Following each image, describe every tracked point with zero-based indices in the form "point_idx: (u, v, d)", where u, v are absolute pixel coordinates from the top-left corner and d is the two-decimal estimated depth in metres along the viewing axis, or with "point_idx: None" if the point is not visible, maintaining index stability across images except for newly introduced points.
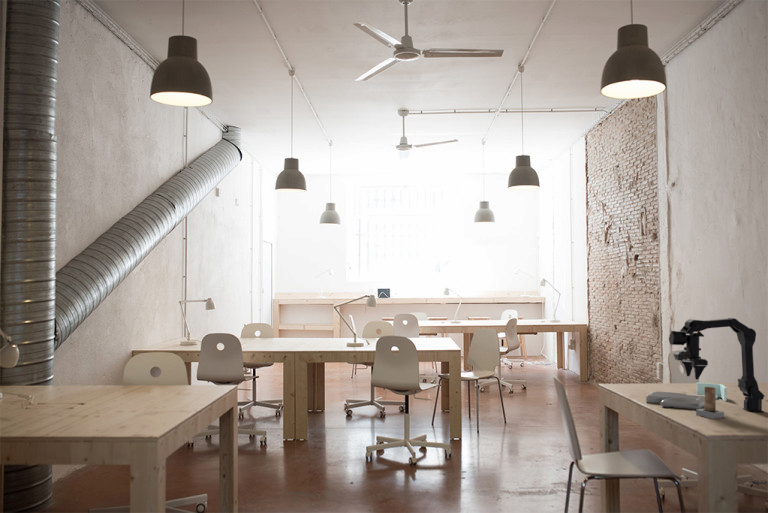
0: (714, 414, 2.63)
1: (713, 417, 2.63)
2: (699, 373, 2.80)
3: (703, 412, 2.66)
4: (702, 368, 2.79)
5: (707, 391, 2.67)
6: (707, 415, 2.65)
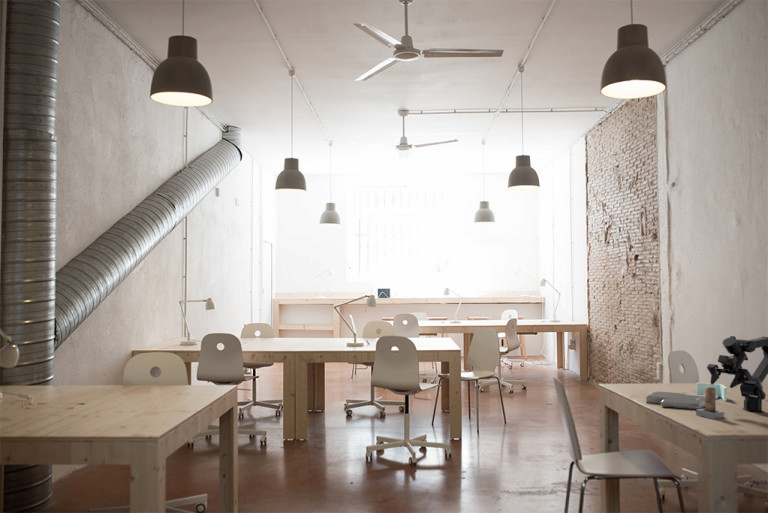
0: (714, 414, 2.63)
1: (713, 417, 2.63)
2: (736, 384, 2.68)
3: (703, 412, 2.66)
4: (741, 381, 2.69)
5: (707, 391, 2.67)
6: (707, 415, 2.65)
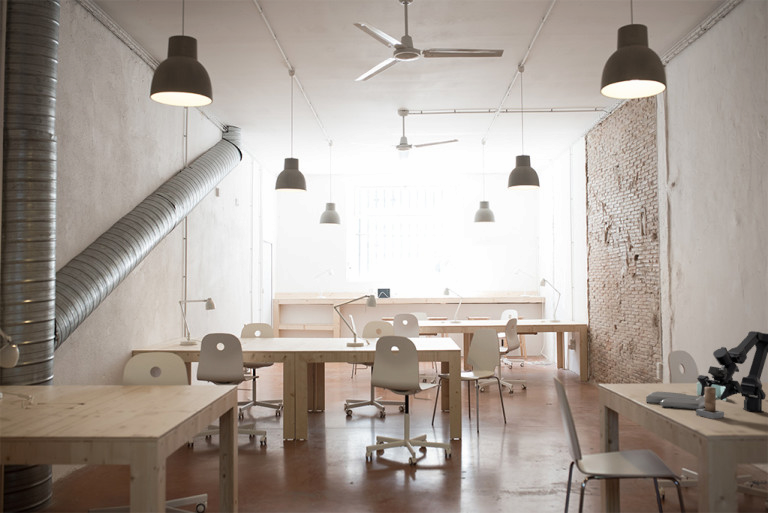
0: (714, 414, 2.63)
1: (713, 417, 2.63)
2: (726, 396, 2.65)
3: (703, 412, 2.66)
4: (731, 393, 2.65)
5: (707, 391, 2.67)
6: (707, 415, 2.65)
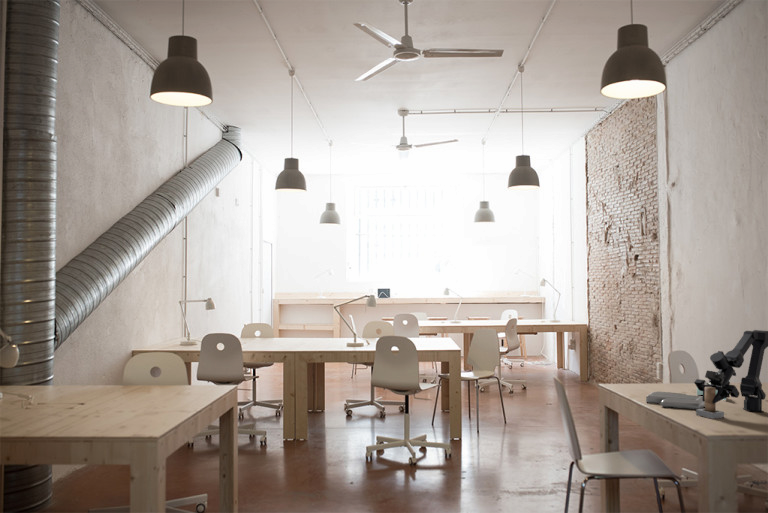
0: (714, 414, 2.63)
1: (713, 417, 2.63)
2: (719, 399, 2.66)
3: (703, 412, 2.66)
4: (724, 397, 2.66)
5: (707, 391, 2.67)
6: (707, 415, 2.65)
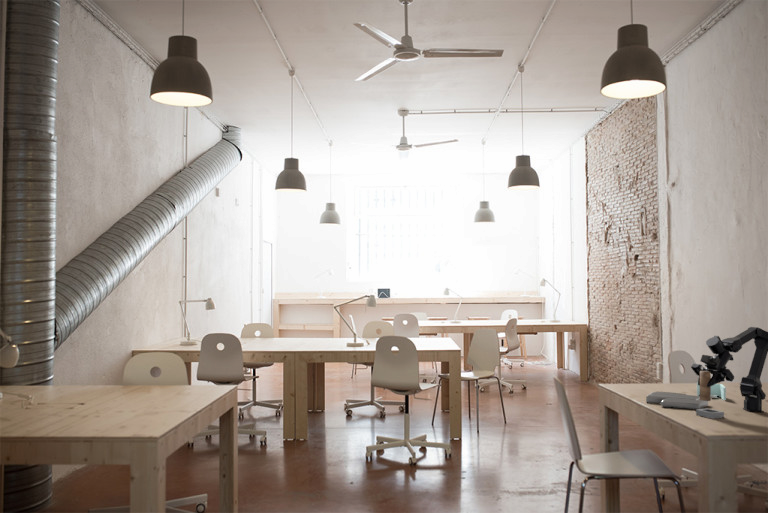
0: (714, 414, 2.63)
1: (713, 417, 2.63)
2: (713, 383, 2.68)
3: (703, 412, 2.66)
4: (719, 380, 2.68)
5: (702, 375, 2.70)
6: (707, 415, 2.65)
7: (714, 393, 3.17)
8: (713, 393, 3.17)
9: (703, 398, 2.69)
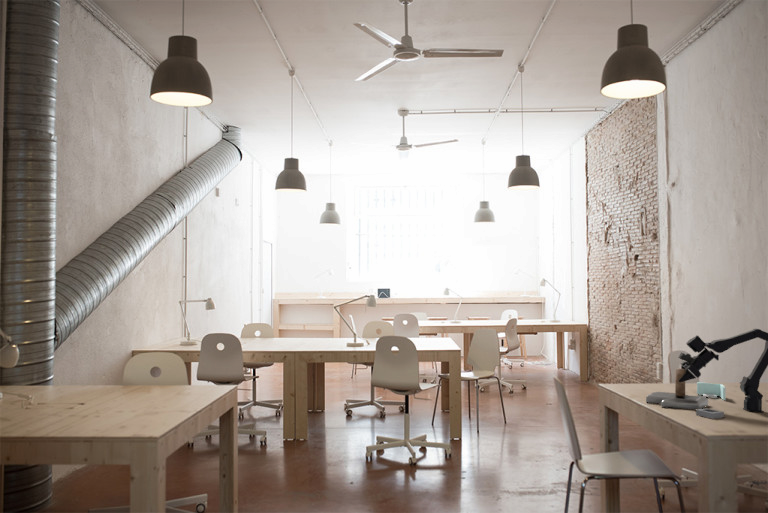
0: (714, 414, 2.63)
1: (713, 417, 2.63)
2: (685, 379, 2.87)
3: (703, 412, 2.66)
4: (691, 377, 2.86)
5: (675, 372, 2.93)
6: (707, 415, 2.65)
7: (714, 393, 3.18)
8: (713, 393, 3.18)
9: (676, 393, 2.92)
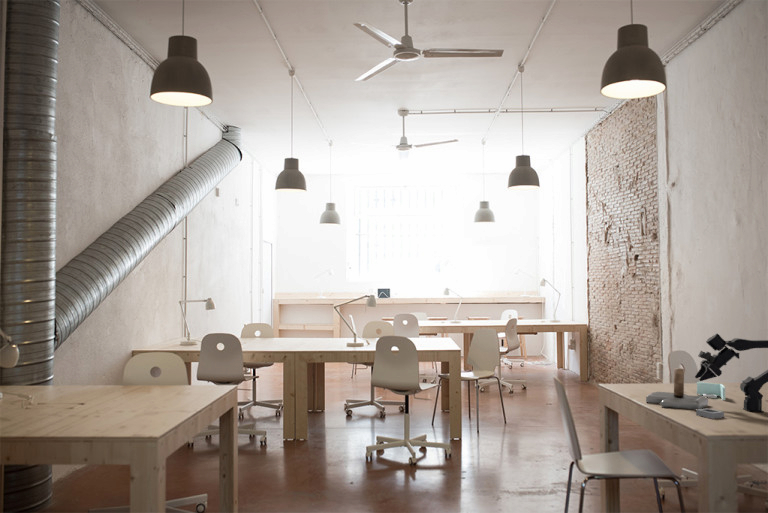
0: (714, 414, 2.63)
1: (713, 417, 2.63)
2: (706, 377, 2.84)
3: (703, 412, 2.66)
4: (712, 376, 2.83)
5: (674, 371, 2.93)
6: (707, 415, 2.65)
7: (714, 393, 3.18)
8: (713, 393, 3.18)
9: (674, 393, 2.93)
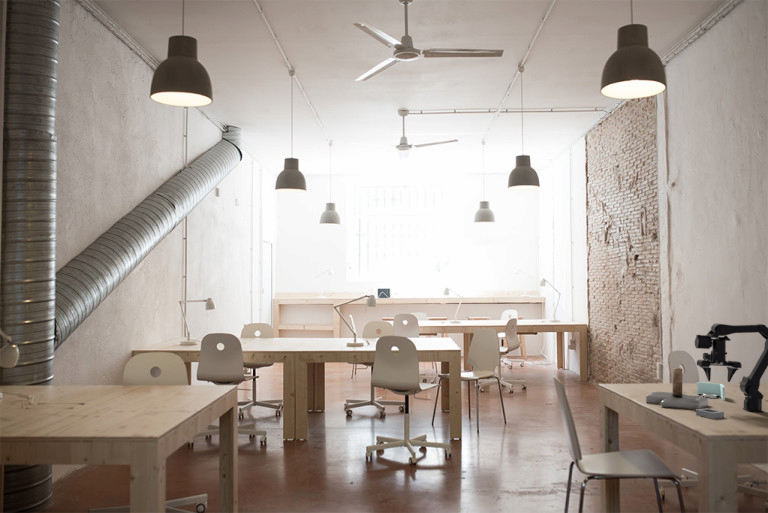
0: (714, 414, 2.63)
1: (713, 417, 2.63)
2: (707, 375, 2.86)
3: (703, 412, 2.66)
4: (707, 370, 2.85)
5: None
6: (707, 415, 2.65)
7: (714, 393, 3.18)
8: (713, 393, 3.19)
9: (673, 392, 2.94)
